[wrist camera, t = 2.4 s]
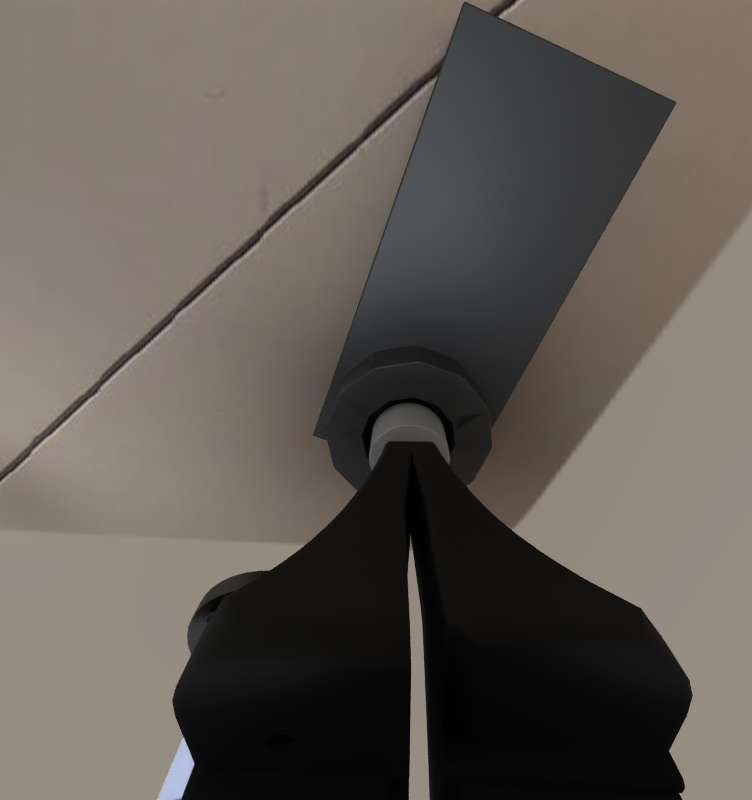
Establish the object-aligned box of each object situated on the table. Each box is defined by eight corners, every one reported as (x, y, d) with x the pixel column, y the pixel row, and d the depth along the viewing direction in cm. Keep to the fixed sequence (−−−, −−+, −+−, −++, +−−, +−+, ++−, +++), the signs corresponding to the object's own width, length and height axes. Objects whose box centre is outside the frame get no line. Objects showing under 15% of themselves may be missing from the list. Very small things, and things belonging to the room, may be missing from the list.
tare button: (427, 474, 14) (430, 503, 12) (362, 451, 13) (358, 478, 12) (456, 416, 13) (463, 441, 11) (387, 392, 12) (386, 413, 11)
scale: (448, 477, 17) (458, 527, 14) (315, 431, 16) (298, 474, 14) (646, 115, 11) (725, 81, 9) (456, 26, 11) (476, -41, 8)
